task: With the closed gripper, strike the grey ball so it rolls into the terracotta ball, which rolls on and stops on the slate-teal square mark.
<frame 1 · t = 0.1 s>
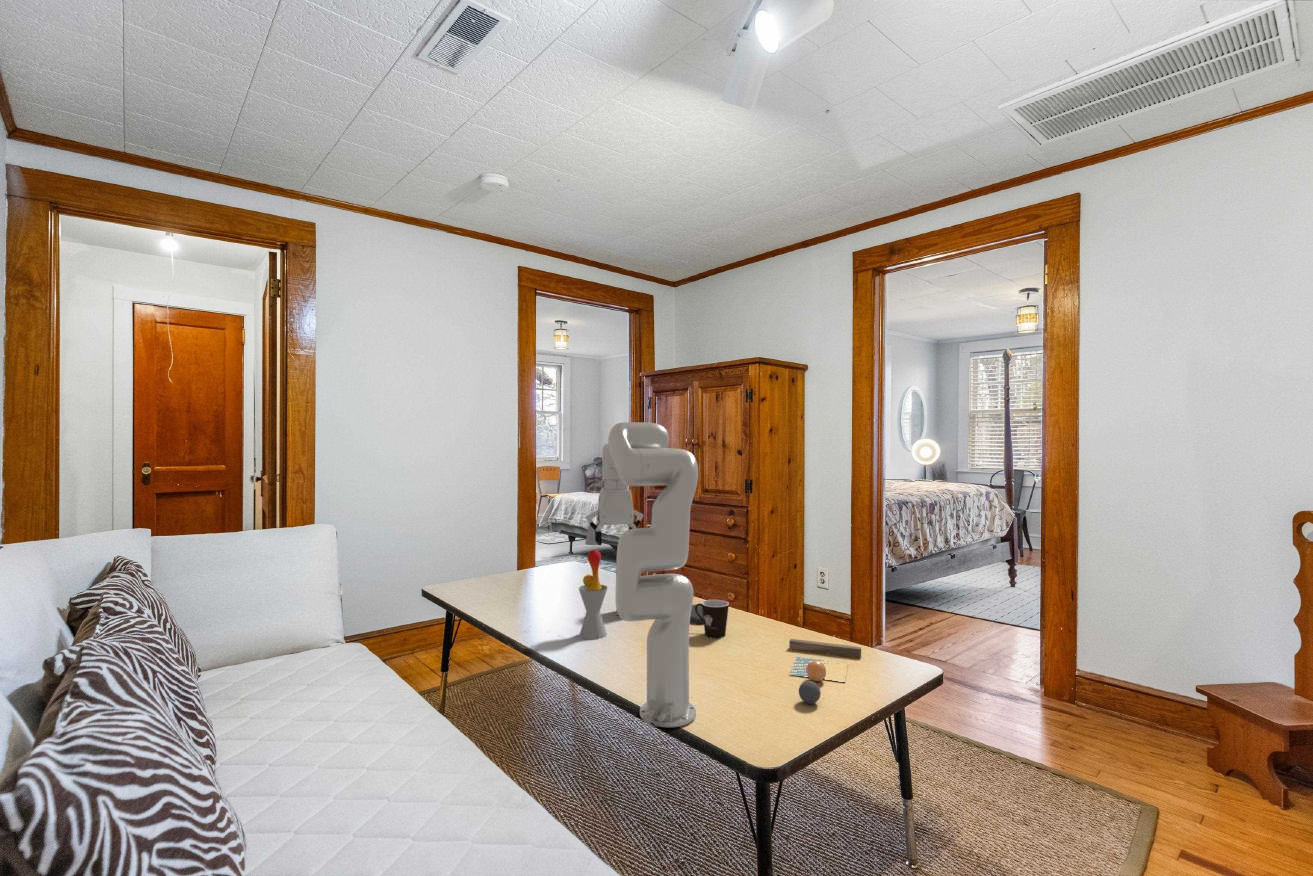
hand: (615, 543, 180), 31 cm above the table, tool pointing down, fingers open, 9 cm apart
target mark: (819, 669, 164), on the table
lava lamp: (593, 635, 193), on the table
coffee mug: (712, 634, 195), on the table
grey ball: (809, 692, 144), on the table
object ball: (816, 671, 157), on the table
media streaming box: (700, 618, 213), on the table
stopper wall: (824, 652, 177), on the table
coffee box: (628, 613, 217), on the table
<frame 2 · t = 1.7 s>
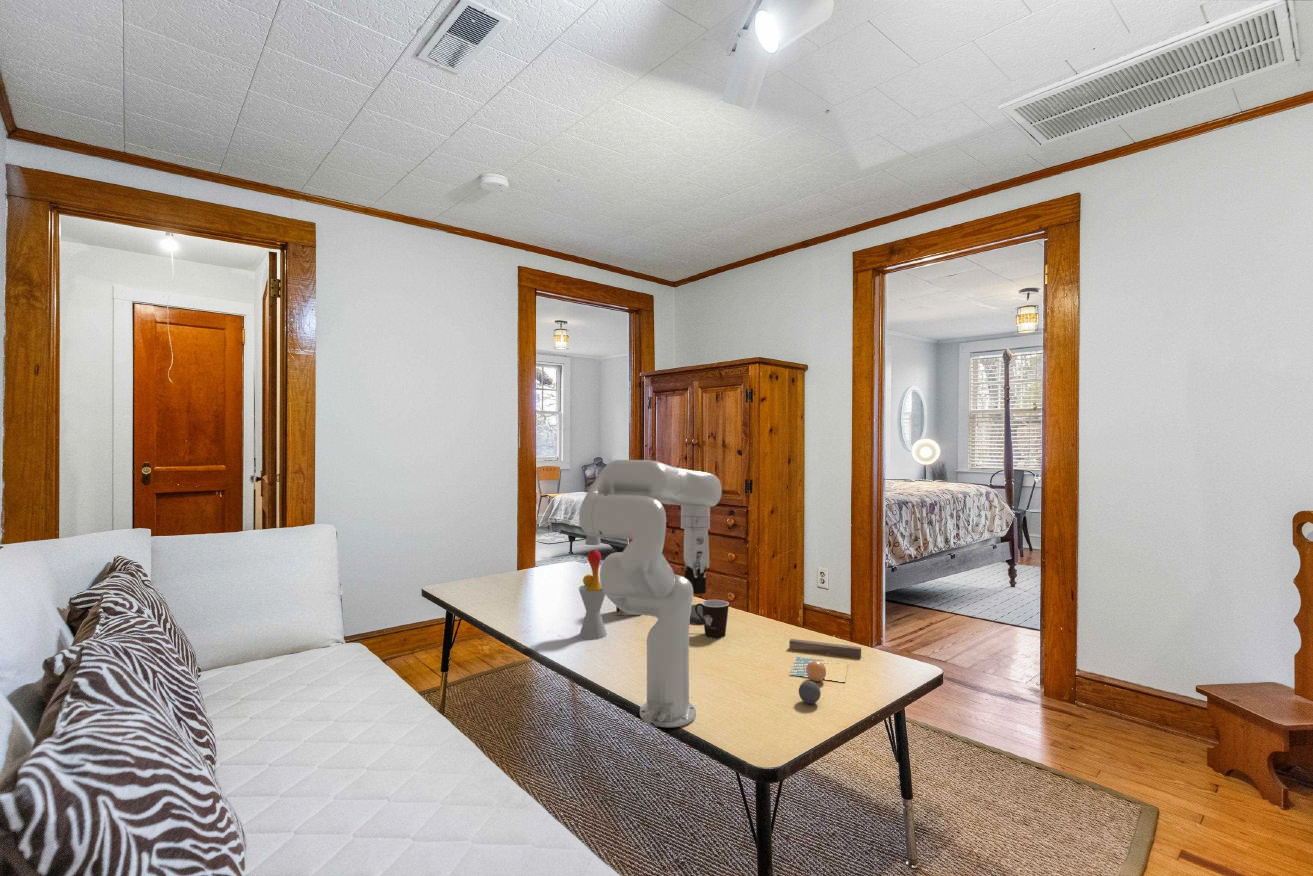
hand: (694, 589, 157), 23 cm above the table, tool pointing down, fingers open, 9 cm apart
nothing on the table moved.
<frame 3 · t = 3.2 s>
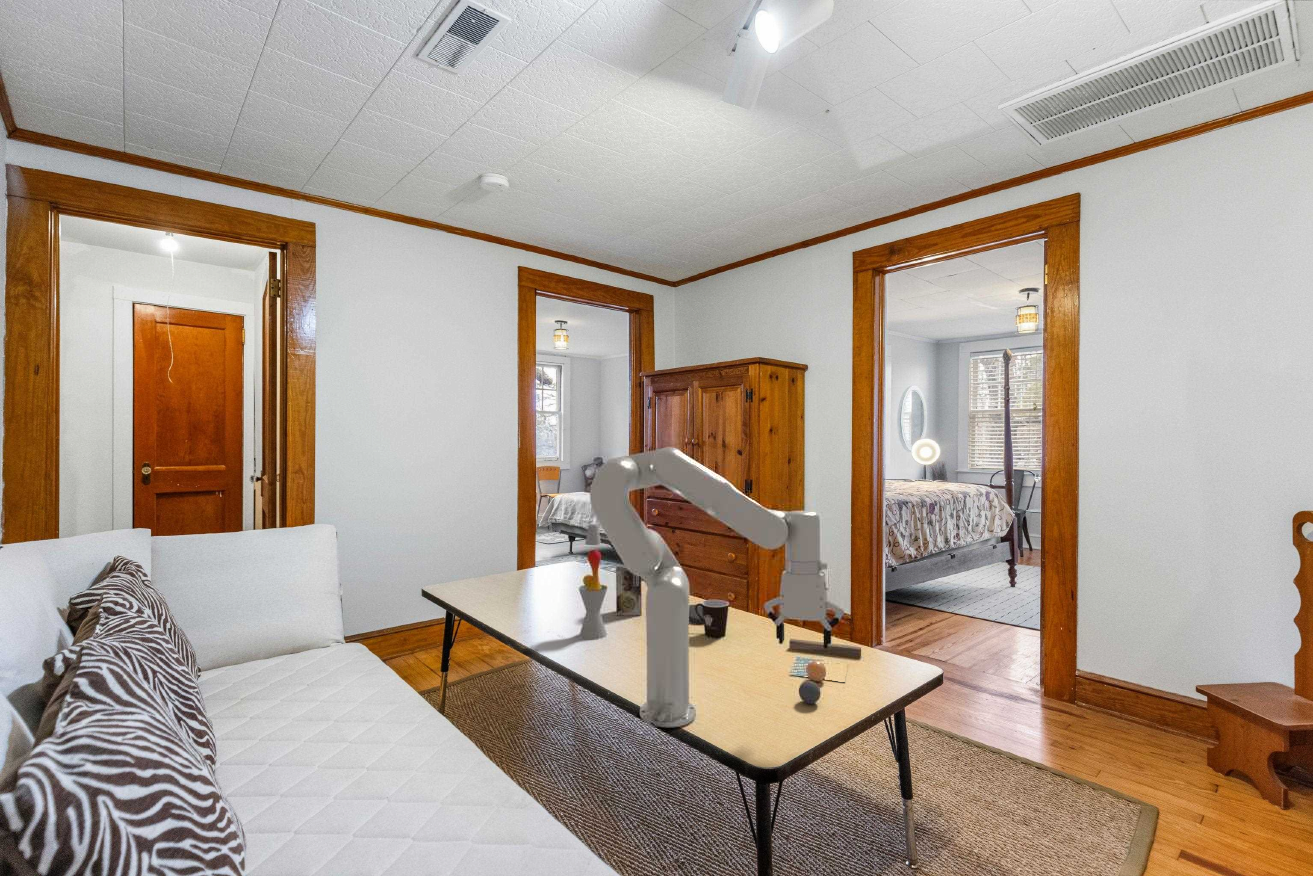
hand: (803, 644, 135), 17 cm above the table, tool pointing down, fingers open, 9 cm apart
nothing on the table moved.
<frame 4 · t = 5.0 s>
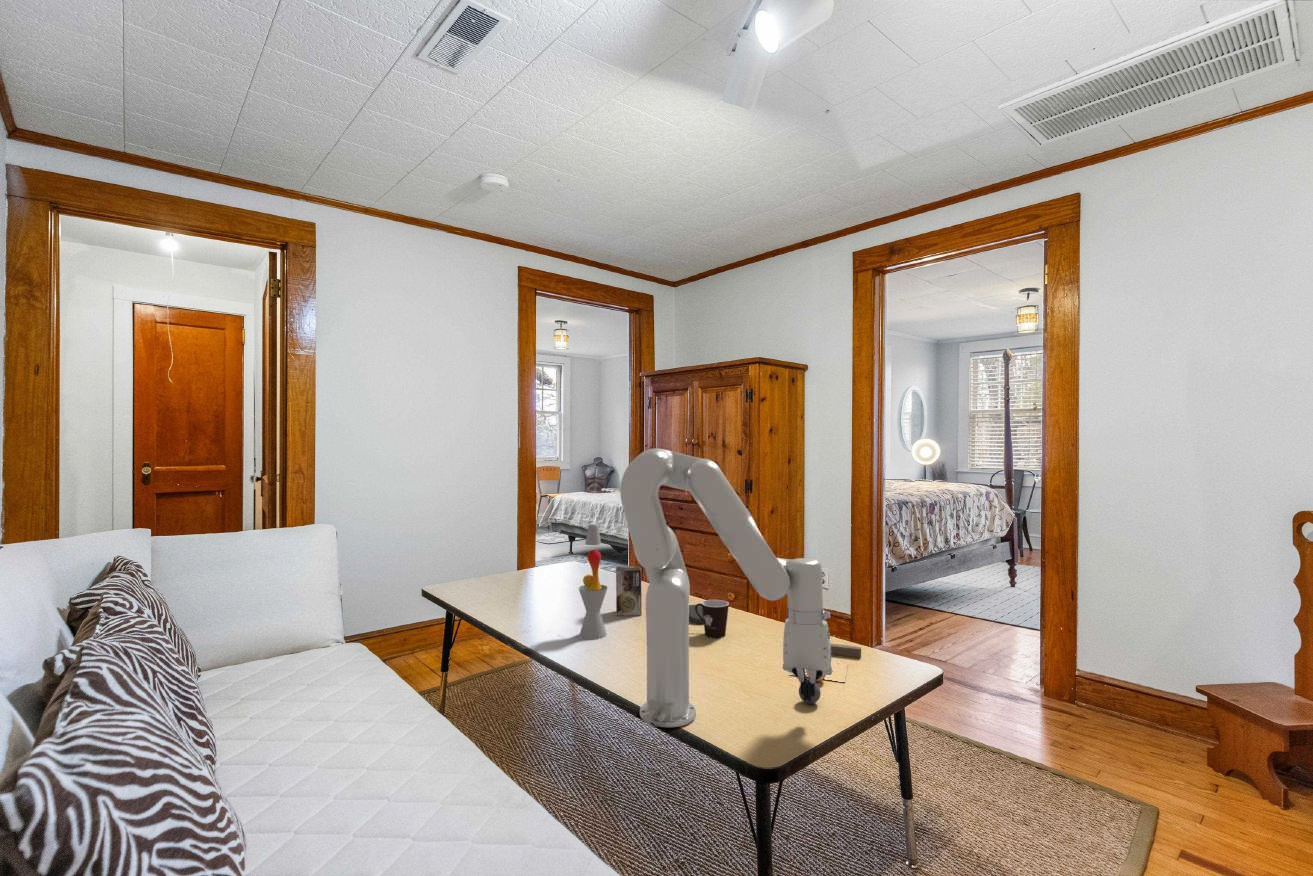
hand: (808, 698, 135), 5 cm above the table, tool pointing down, fingers closed
nothing on the table moved.
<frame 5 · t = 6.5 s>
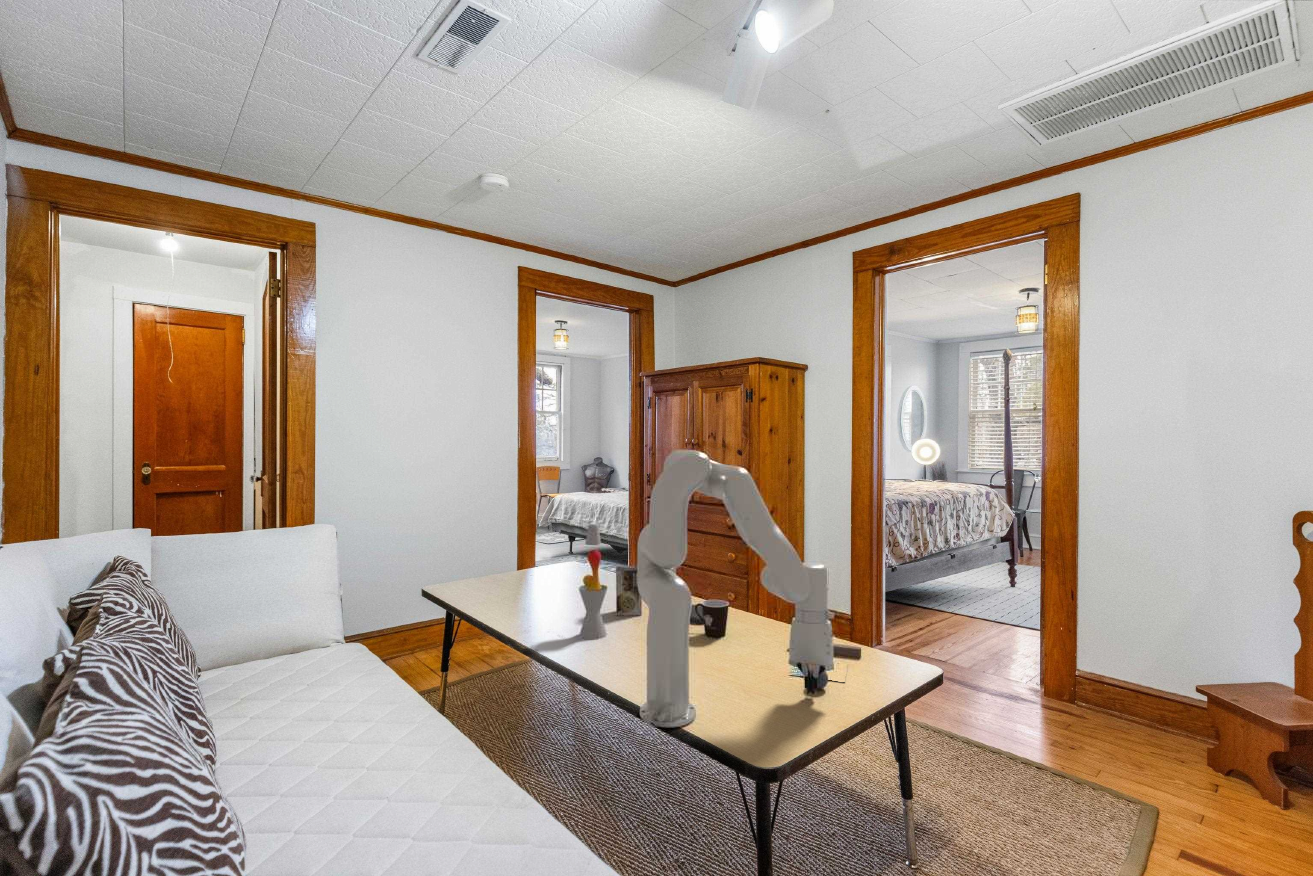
hand: (811, 691, 147), 2 cm above the table, tool pointing down, fingers closed
grey ball: (817, 678, 152), on the table
object ball: (817, 665, 160), on the table
everything else where it was.
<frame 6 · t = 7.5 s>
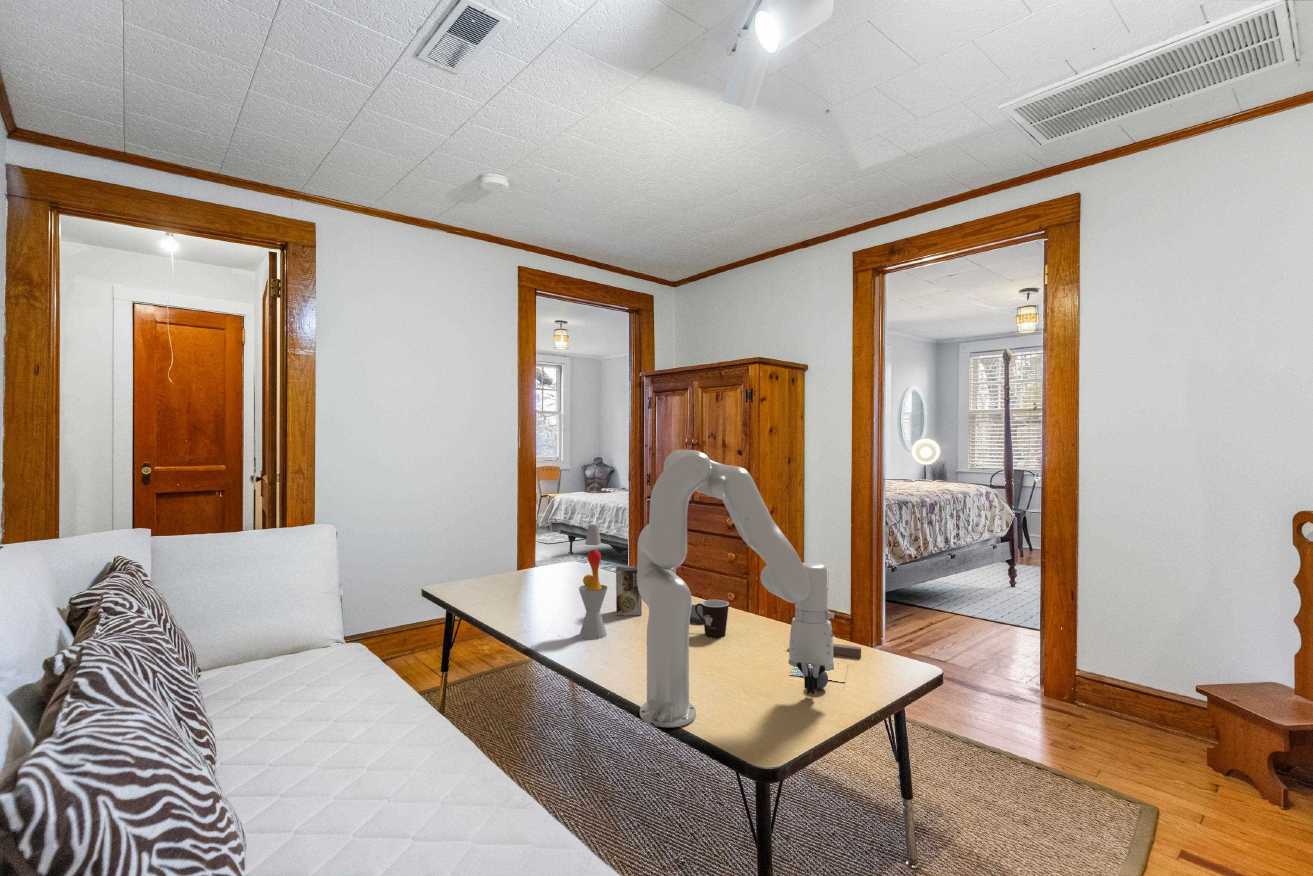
hand: (811, 691, 147), 2 cm above the table, tool pointing down, fingers closed
object ball: (819, 660, 164), on the table
everything else where it was.
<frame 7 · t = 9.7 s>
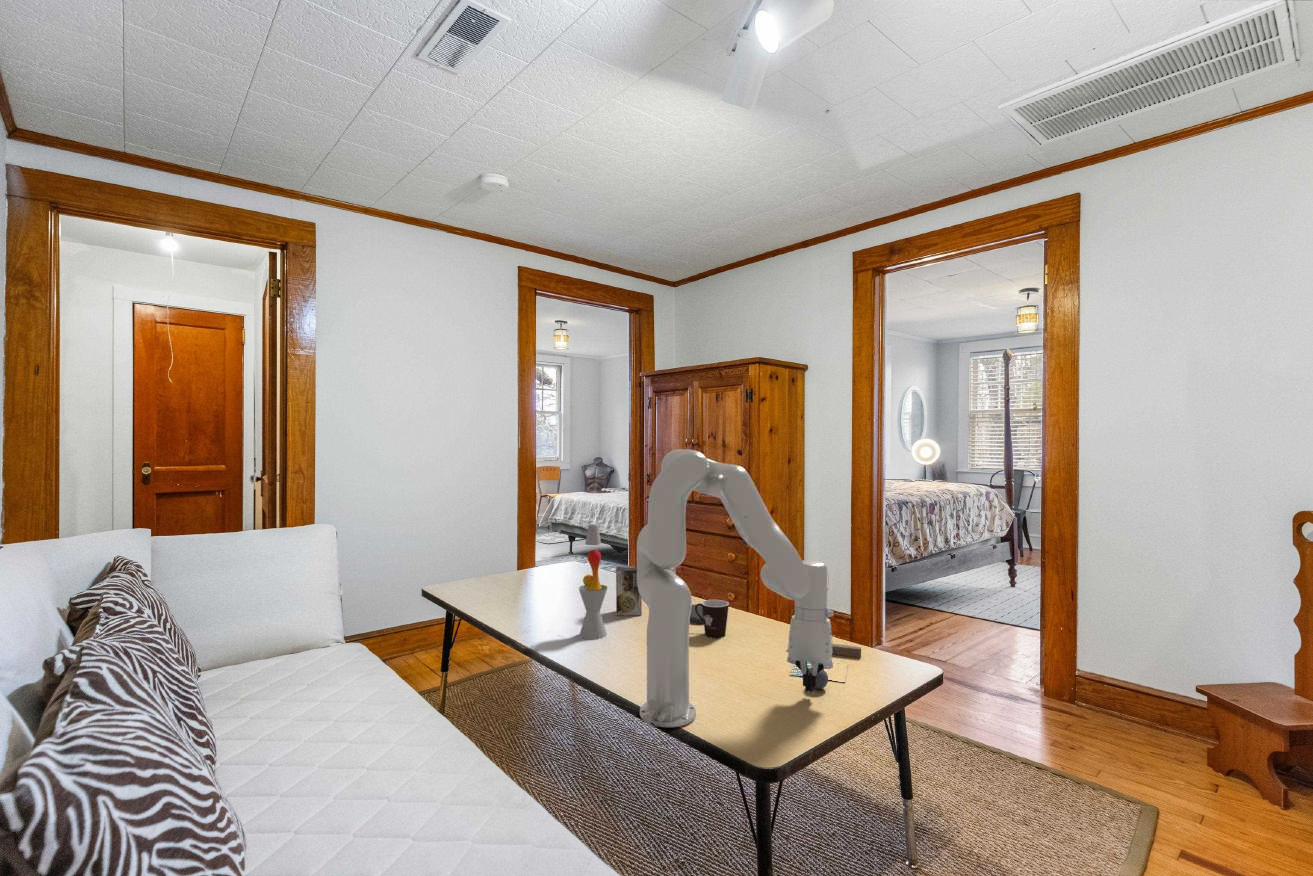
hand: (809, 689, 146), 2 cm above the table, tool pointing down, fingers closed
nothing on the table moved.
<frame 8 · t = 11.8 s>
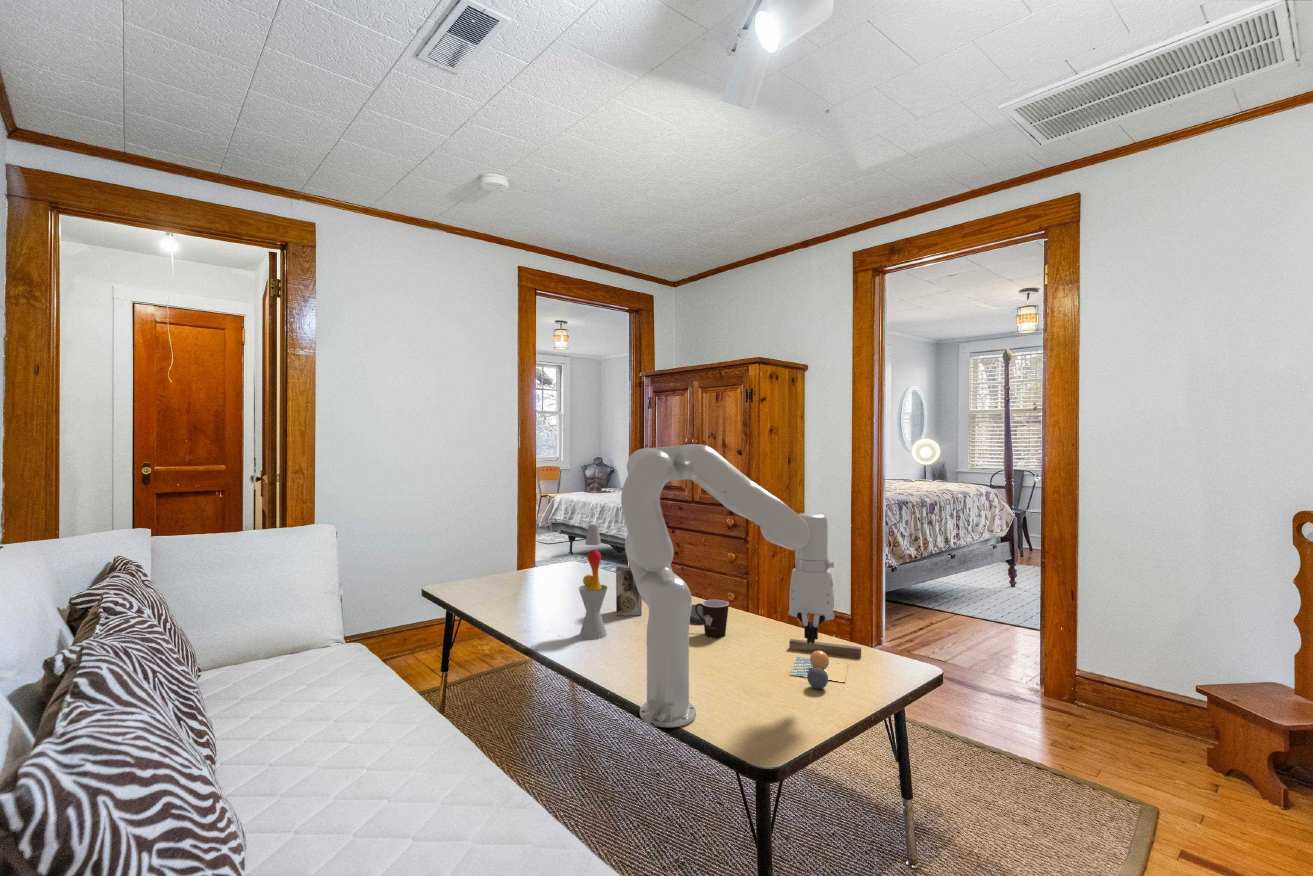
hand: (811, 641, 147), 13 cm above the table, tool pointing down, fingers closed
nothing on the table moved.
at the end: object ball 0.1 cm from the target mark (horizontally); object ball never touched the robot; grey ball first touched object ball at 6.1 s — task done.
